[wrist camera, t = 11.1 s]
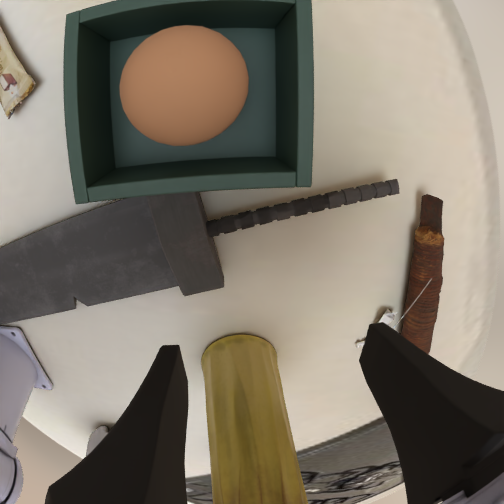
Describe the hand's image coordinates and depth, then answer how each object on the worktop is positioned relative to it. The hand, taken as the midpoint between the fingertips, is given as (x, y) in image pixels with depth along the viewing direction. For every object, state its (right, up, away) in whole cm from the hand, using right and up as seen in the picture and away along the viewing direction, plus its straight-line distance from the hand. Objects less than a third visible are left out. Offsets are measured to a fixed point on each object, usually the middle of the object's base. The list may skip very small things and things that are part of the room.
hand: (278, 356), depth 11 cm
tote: (-4, +12, +4) cm, 14 cm away
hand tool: (+13, -16, +17) cm, 27 cm away
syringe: (+9, -1, +11) cm, 14 cm away
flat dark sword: (-9, +4, +7) cm, 12 cm away
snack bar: (-17, +16, 0) cm, 24 cm away
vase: (-2, -5, +13) cm, 14 cm away
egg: (-4, +12, +3) cm, 14 cm away
